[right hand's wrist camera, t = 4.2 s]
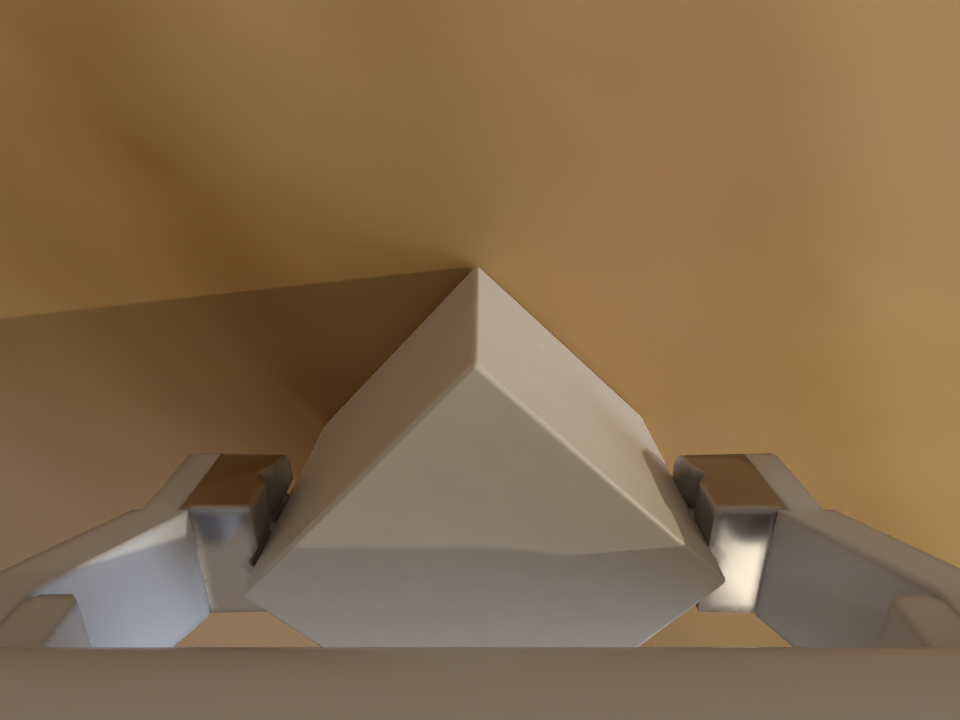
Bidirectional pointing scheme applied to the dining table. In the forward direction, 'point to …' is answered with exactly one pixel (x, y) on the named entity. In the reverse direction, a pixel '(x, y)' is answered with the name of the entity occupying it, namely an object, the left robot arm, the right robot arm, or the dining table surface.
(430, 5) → the dining table surface
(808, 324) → the dining table surface
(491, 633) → the block
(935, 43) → the dining table surface
